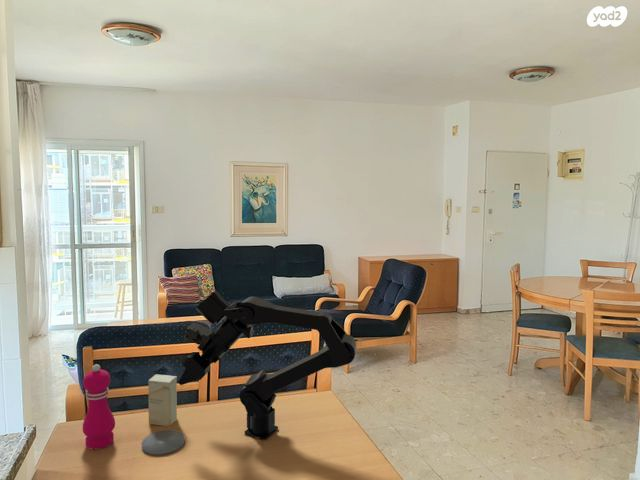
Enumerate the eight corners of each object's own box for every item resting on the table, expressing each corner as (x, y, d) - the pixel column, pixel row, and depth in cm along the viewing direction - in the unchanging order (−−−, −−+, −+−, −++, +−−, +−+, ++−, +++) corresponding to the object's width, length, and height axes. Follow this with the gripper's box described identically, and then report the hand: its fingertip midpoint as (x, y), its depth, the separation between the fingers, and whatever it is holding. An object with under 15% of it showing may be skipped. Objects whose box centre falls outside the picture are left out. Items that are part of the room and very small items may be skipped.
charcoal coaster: (193, 438, 119) (193, 435, 119) (163, 459, 111) (163, 456, 110) (163, 429, 124) (163, 426, 124) (132, 448, 115) (132, 445, 115)
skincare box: (148, 424, 126) (146, 380, 125) (156, 416, 131) (155, 373, 129) (170, 426, 125) (169, 382, 124) (178, 418, 130) (177, 375, 128)
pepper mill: (103, 452, 113) (99, 371, 110) (76, 448, 114) (72, 368, 112) (122, 436, 120) (118, 360, 117) (96, 433, 121) (92, 357, 119)
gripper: (216, 304, 131) (180, 342, 134) (187, 325, 112) (147, 368, 115) (245, 333, 130) (209, 370, 134) (221, 358, 112) (180, 401, 115)
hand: (187, 376), depth 124 cm, fingers open, 9 cm apart
